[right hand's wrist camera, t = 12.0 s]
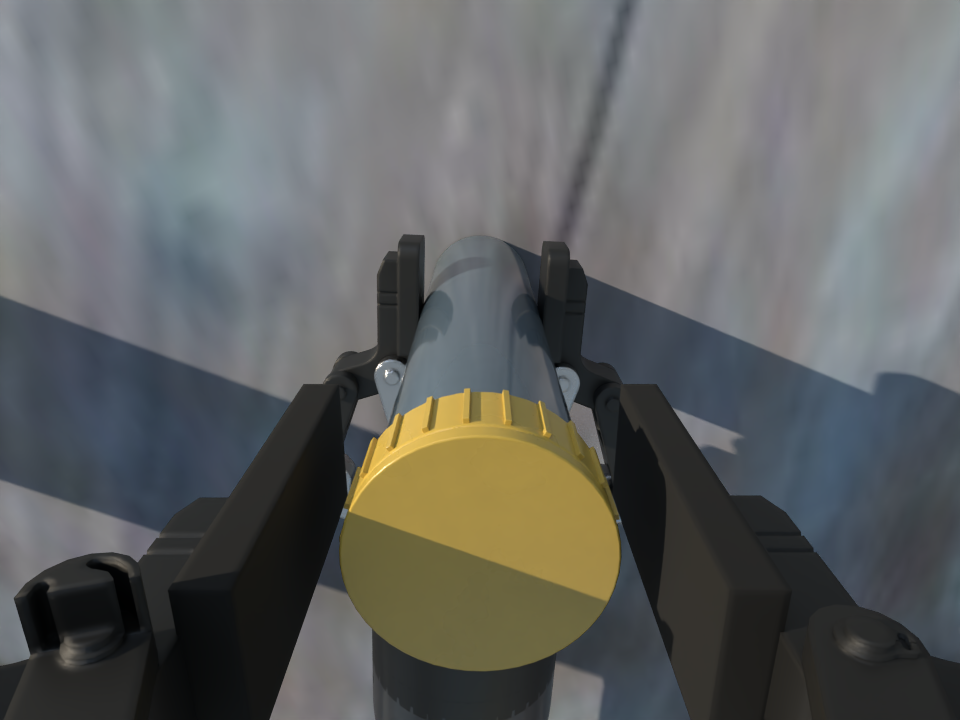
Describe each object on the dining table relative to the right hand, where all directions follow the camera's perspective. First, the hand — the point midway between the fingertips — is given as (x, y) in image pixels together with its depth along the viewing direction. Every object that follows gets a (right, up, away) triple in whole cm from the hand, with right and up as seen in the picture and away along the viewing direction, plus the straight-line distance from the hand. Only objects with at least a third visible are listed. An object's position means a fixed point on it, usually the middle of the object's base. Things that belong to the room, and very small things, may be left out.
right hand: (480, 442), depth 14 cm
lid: (0, -1, -4) cm, 4 cm away
